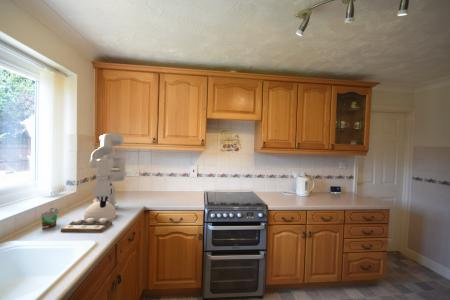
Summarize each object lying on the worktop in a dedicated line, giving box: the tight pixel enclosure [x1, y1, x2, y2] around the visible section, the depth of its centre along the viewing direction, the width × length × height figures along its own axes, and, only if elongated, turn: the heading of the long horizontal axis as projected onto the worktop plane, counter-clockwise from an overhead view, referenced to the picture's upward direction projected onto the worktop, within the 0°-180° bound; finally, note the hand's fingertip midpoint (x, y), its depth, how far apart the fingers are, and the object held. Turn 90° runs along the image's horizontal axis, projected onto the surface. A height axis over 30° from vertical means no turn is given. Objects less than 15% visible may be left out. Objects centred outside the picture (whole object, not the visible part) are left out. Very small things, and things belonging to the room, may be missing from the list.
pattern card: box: [61, 224, 104, 229], centre depth 131 cm, size 5×22×1 cm, turn 91°
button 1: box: [73, 218, 82, 223], centre depth 137 cm, size 4×4×2 cm
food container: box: [40, 207, 59, 230], centre depth 137 cm, size 12×6×10 cm, turn 17°
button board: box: [60, 219, 113, 233], centre depth 135 cm, size 13×24×3 cm, turn 91°
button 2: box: [99, 218, 107, 223], centre depth 138 cm, size 4×4×2 cm
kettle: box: [83, 198, 117, 221], centre depth 154 cm, size 20×21×18 cm
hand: (102, 207), depth 137 cm, fingers closed
